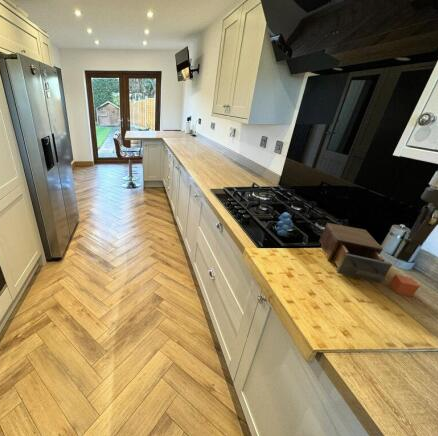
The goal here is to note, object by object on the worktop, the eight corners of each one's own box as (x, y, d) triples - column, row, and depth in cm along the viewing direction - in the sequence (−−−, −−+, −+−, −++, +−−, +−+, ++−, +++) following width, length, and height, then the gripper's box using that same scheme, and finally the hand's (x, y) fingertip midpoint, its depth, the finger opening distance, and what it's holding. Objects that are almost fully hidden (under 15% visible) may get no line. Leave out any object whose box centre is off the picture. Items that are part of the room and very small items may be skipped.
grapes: (293, 243, 104) (302, 219, 98) (276, 240, 105) (285, 216, 100) (286, 231, 114) (295, 208, 109) (271, 228, 115) (279, 206, 110)
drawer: (387, 293, 76) (400, 274, 73) (341, 281, 80) (351, 263, 77) (363, 260, 93) (373, 243, 89) (326, 252, 97) (334, 235, 94)
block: (404, 288, 81) (412, 277, 79) (412, 297, 77) (420, 286, 75) (388, 284, 82) (395, 274, 80) (394, 292, 78) (402, 282, 76)
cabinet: (370, 270, 89) (383, 248, 84) (327, 260, 93) (337, 239, 89) (355, 249, 102) (365, 229, 98) (318, 241, 106) (327, 222, 102)
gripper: (473, 199, 58) (419, 274, 69) (463, 188, 67) (417, 256, 77) (429, 190, 63) (385, 262, 73) (425, 181, 71) (386, 247, 82)
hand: (401, 259), depth 75 cm, fingers closed
